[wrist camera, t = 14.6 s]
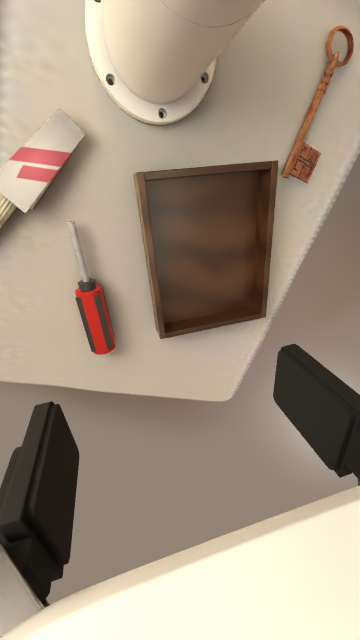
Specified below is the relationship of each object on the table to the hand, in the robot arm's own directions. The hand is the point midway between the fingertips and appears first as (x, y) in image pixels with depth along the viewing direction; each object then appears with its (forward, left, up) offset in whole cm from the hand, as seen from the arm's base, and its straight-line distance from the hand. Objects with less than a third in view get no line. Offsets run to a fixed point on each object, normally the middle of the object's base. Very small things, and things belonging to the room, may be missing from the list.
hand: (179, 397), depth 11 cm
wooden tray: (+1, +11, -26) cm, 28 cm away
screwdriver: (+3, -6, -26) cm, 27 cm away
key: (-14, +26, -26) cm, 39 cm away
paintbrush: (-8, -11, -26) cm, 30 cm away
